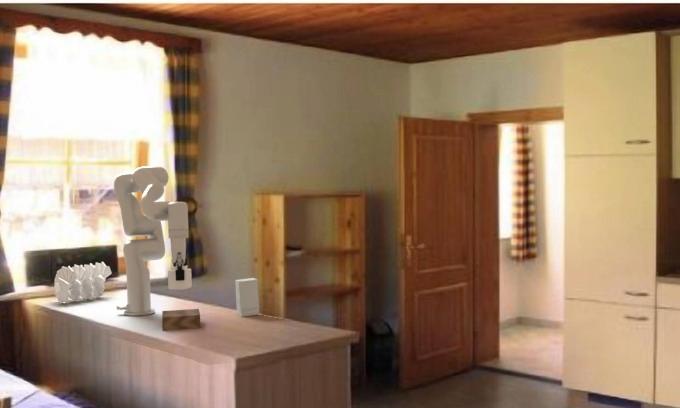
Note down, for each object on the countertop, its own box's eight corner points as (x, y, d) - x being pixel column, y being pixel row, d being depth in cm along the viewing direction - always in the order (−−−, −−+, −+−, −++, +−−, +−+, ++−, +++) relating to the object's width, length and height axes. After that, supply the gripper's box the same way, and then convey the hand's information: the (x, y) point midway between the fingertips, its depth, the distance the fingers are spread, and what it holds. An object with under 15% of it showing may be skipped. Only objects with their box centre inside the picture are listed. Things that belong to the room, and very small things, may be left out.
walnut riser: (162, 330, 273) (162, 317, 273) (162, 323, 287) (162, 311, 287) (200, 328, 277) (200, 314, 276) (199, 321, 290) (198, 308, 290)
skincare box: (255, 312, 306) (254, 277, 306) (259, 315, 301) (258, 279, 300) (235, 314, 302) (234, 279, 302) (240, 317, 297) (239, 280, 296)
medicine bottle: (192, 286, 284) (191, 256, 284) (186, 289, 277) (185, 258, 277) (174, 287, 285) (173, 256, 285) (168, 289, 278) (167, 258, 278)
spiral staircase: (53, 311, 344) (99, 301, 363) (71, 298, 333) (118, 288, 353) (41, 276, 347) (87, 267, 367) (59, 262, 337) (105, 254, 357)
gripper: (168, 233, 288) (170, 276, 289) (168, 236, 271) (169, 282, 272) (187, 232, 290) (189, 275, 290) (188, 235, 273) (190, 281, 274)
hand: (180, 278), depth 281 cm, fingers closed on medicine bottle, 8 cm apart
